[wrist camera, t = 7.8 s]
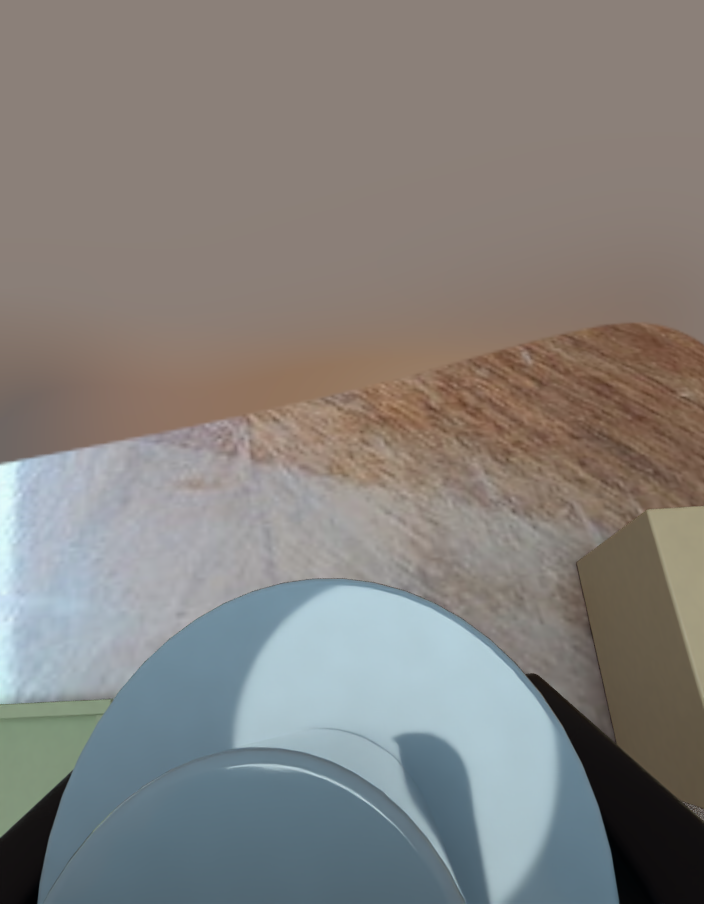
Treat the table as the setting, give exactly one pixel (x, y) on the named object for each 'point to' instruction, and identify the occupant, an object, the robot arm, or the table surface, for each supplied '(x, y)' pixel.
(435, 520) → the table surface
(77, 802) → the bottle
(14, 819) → the tray
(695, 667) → the riser
